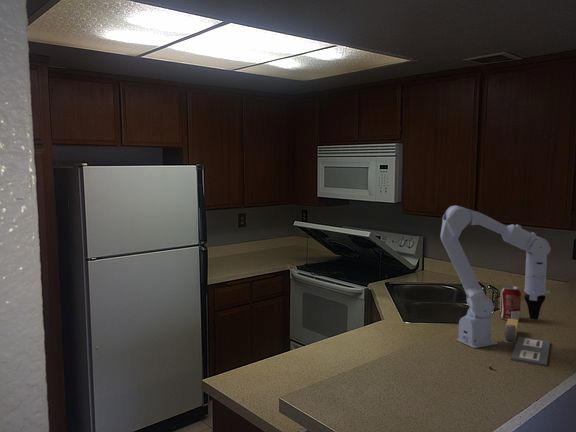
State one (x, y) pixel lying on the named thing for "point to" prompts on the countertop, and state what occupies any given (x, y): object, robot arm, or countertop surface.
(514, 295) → the soda can
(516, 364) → the countertop surface
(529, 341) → the label plate
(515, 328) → the bar
